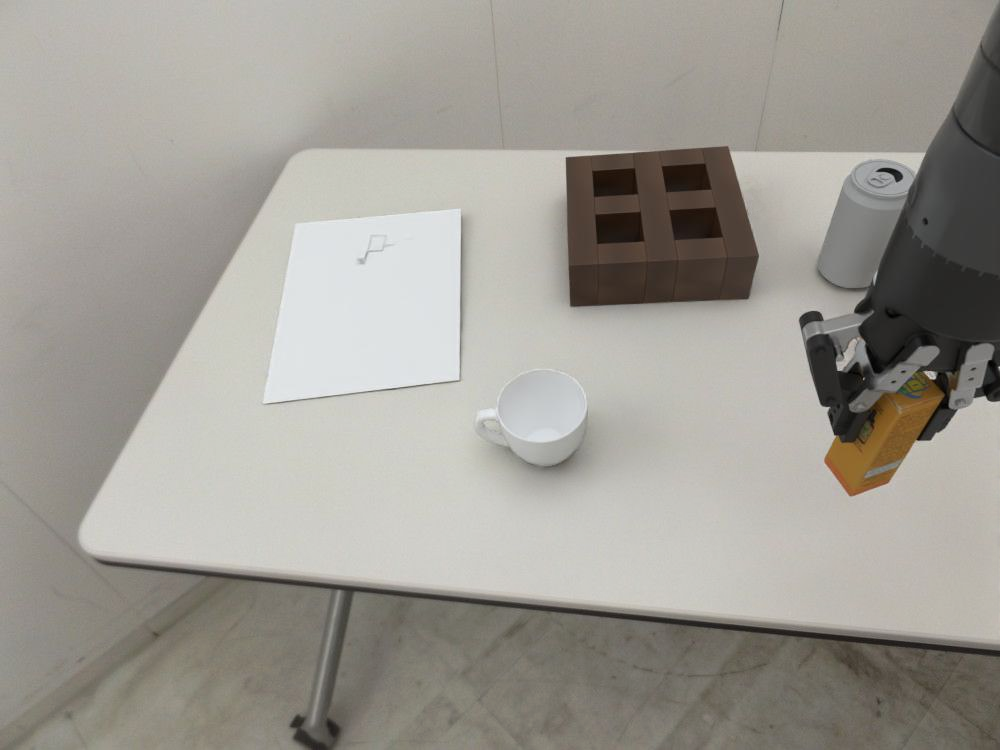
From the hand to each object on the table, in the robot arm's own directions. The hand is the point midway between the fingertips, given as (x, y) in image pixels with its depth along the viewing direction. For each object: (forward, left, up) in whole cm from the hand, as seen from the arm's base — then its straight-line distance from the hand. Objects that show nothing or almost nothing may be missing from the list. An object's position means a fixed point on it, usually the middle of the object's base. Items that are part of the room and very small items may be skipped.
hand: (880, 429), depth 43 cm
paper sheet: (+42, -29, -15) cm, 53 cm away
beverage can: (-10, -30, -15) cm, 35 cm away
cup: (+23, -9, -15) cm, 29 cm away
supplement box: (0, 0, -5) cm, 5 cm away
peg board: (+10, -36, -15) cm, 40 cm away
